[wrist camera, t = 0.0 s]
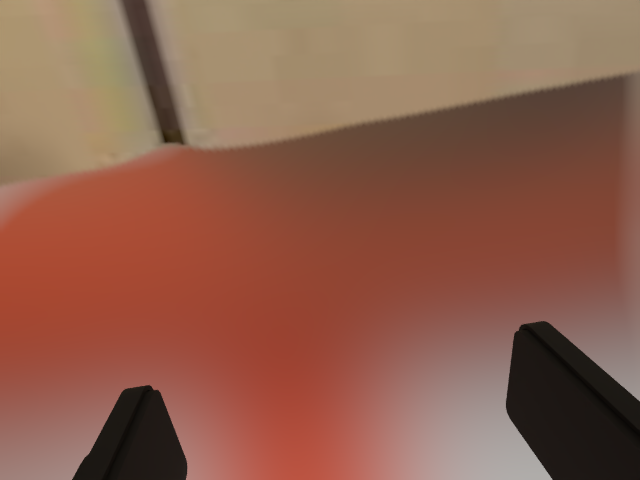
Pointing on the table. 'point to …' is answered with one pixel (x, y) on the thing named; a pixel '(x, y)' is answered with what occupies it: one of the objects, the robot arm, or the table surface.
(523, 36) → the table surface
